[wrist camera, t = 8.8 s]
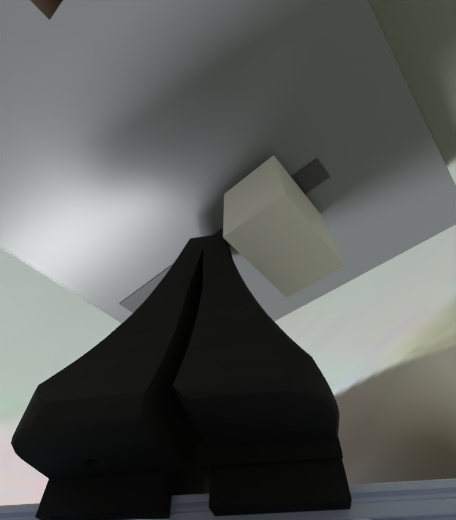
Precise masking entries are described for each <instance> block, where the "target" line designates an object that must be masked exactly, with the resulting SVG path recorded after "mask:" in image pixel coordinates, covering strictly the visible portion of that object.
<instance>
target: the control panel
mask: <svg viewBox="0 0 456 520" xmlns="http://www.w3.org/2000/svg"><path fill="white" fill-rule="evenodd" d="M273 155H274V156H275V157H276V158H277V160H278V161H279V162H280V164H281V165H282V166H283V167H284V169H285V170H286V171H287V172H288V174H289V175H290V176H291V177H292V179H293V180H294V181H295V183H296V184H297V185H298V186H299V188H300V189H301V190H302V191H303V193H304V194H305V195H306V196H307V198H308V199H309V200H310V201H311V203H312V204H313V205H314V207H315V208H316V209H317V210H318V212H319V213H320V214H321V215H322V217H323V218H324V219H325V221H326V223H327V226H328V228H329V230H330V233H331V235H332V237H333V240H334V242H335V244H336V246H337V249H338V251H339V253H340V256H341V258H342V260H343V263H344V265H345V266H343V267H341V268H339V269H337V270H336V271H334V272H332V273H330V274H329V275H327V276H325V277H323V278H321V279H320V280H318V281H316V282H314V283H312V284H311V285H309V286H307V287H305V288H303V289H302V290H300V291H298V292H296V293H295V294H293V295H291V296H289V297H287V298H286V297H285V296H284V295H283V294H282V293H281V292H280V291H279V290H278V289H277V288H276V287H275V286H274V285H273V284H272V283H271V282H270V281H268V280H267V279H266V278H265V277H264V276H263V275H262V274H261V273H260V272H259V271H258V270H257V269H256V268H255V267H254V266H253V265H252V264H251V263H249V262H248V261H247V260H246V259H245V258H244V257H243V256H242V255H241V254H240V253H239V252H238V251H237V250H236V249H235V248H234V247H233V246H232V245H230V249H231V253H232V258H233V261H234V263H235V265H236V267H237V269H238V271H239V273H240V275H241V277H242V279H243V280H244V282H245V284H246V285H247V287H248V289H249V290H250V292H251V293H252V295H253V296H254V297H255V299H256V300H257V302H258V303H259V304H260V305H261V307H262V308H263V309H264V311H265V312H266V313H267V314H268V315H269V316H270V317H271V318H272V320H273V321H276V320H278V319H279V318H281V317H283V316H285V315H287V314H289V313H291V312H292V311H294V310H296V309H298V308H300V307H302V306H304V305H306V304H307V303H309V302H311V301H313V300H315V299H317V298H319V297H321V296H322V295H324V294H326V293H328V292H330V291H332V290H334V289H336V288H337V287H339V286H341V285H343V284H345V283H347V282H349V281H350V280H352V279H354V278H356V277H358V276H360V275H362V274H364V273H365V272H367V271H369V270H371V269H373V268H375V267H377V266H379V265H380V264H382V263H384V262H386V261H388V260H390V259H392V258H394V257H395V256H397V255H399V254H401V253H403V252H405V251H407V250H408V249H410V248H412V247H414V246H416V245H418V244H420V243H422V242H423V241H425V240H427V239H429V238H431V237H433V236H435V235H437V234H438V233H440V232H442V231H444V230H446V229H448V228H450V227H452V226H453V225H455V224H456V185H455V183H454V181H453V179H452V177H451V175H450V173H449V170H448V168H447V166H446V164H445V162H444V160H443V158H442V155H441V153H440V151H439V149H438V147H437V145H436V143H435V141H434V138H433V136H432V134H431V132H430V130H429V128H428V126H427V123H426V121H425V119H424V117H423V115H422V113H421V111H420V109H419V106H418V104H417V102H416V100H415V98H414V96H413V94H412V92H411V89H410V87H409V85H408V83H407V81H406V79H405V77H404V74H403V72H402V70H401V68H400V66H399V64H398V62H397V60H396V57H395V55H394V53H393V51H392V49H391V47H390V45H389V42H388V40H387V38H386V36H385V34H384V32H383V30H382V28H381V25H380V23H379V21H378V19H377V17H376V15H375V13H374V11H373V8H372V6H371V4H370V2H369V0H0V247H1V248H2V249H4V250H6V251H7V252H9V253H10V254H12V255H14V256H15V257H17V258H18V259H20V260H22V261H23V262H25V263H26V264H28V265H30V266H31V267H33V268H34V269H36V270H38V271H39V272H41V273H42V274H44V275H46V276H47V277H49V278H50V279H52V280H54V281H55V282H57V283H58V284H60V285H62V286H63V287H65V288H66V289H68V290H70V291H71V292H73V293H74V294H76V295H78V296H79V297H81V298H82V299H84V300H86V301H87V302H89V303H90V304H92V305H94V306H95V307H97V308H98V309H100V310H102V311H103V312H105V313H106V314H108V315H109V316H111V317H113V318H114V319H116V320H117V321H119V322H121V323H123V322H124V321H125V320H126V319H127V318H129V317H130V316H131V315H132V314H133V313H134V312H135V311H136V309H137V308H138V307H139V306H140V305H141V304H142V303H143V302H144V301H145V300H146V299H147V298H148V297H149V295H150V294H151V293H152V292H153V290H154V289H155V288H156V287H157V285H158V284H159V283H160V282H161V280H162V279H163V278H164V276H165V275H166V273H167V272H168V271H169V269H170V268H171V266H172V265H173V263H174V262H175V260H176V259H177V257H178V256H179V254H180V253H181V251H182V250H183V248H184V247H185V245H186V244H187V242H188V241H189V239H190V238H196V237H203V236H209V235H216V234H223V219H224V194H225V193H226V192H227V191H229V190H230V189H231V188H233V187H234V186H235V185H236V184H238V183H239V182H240V181H241V180H243V179H244V178H245V177H246V176H248V175H249V174H250V173H252V172H253V171H254V170H255V169H257V168H258V167H259V166H260V165H262V164H263V163H264V162H266V161H267V160H268V159H269V158H271V157H272V156H273Z"/></svg>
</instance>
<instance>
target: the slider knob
mask: <svg viewBox="0 0 456 520" xmlns="http://www.w3.org/2000/svg"><path fill="white" fill-rule="evenodd" d="M223 238H224V239H225V240H226V241H227V242H228V243H229V244H230V245H232V246H233V247H234V248H235V249H236V250H237V251H238V252H239V253H240V254H241V255H242V256H243V257H244V258H245V259H246V260H247V261H248V262H249V263H251V264H252V265H253V266H254V267H255V268H256V269H257V270H258V271H259V272H260V273H261V274H262V275H263V276H264V277H265V278H266V279H267V280H268V281H270V282H271V283H272V284H273V285H274V286H275V287H276V288H277V289H278V290H279V291H280V292H281V293H282V294H283V295H284V296H285V297H286V298H287V297H289V296H291V295H293V294H295V293H296V292H298V291H300V290H302V289H303V288H305V287H307V286H309V285H311V284H312V283H314V282H316V281H318V280H320V279H321V278H323V277H325V276H327V275H329V274H330V273H332V272H334V271H336V270H337V269H339V268H341V267H343V266H345V265H344V263H343V260H342V258H341V256H340V253H339V251H338V249H337V246H336V244H335V242H334V240H333V237H332V235H331V233H330V230H329V228H328V226H327V223H326V221H325V219H324V218H323V217H322V215H321V214H320V213H319V212H318V210H317V209H316V208H315V207H314V205H313V204H312V203H311V201H310V200H309V199H308V198H307V196H306V195H305V194H304V193H303V191H302V190H301V189H300V188H299V186H298V185H297V184H296V183H295V181H294V180H293V179H292V177H291V176H290V175H289V174H288V172H287V171H286V170H285V169H284V167H283V166H282V165H281V164H280V162H279V161H278V160H277V158H276V157H275V156H274V155H273V156H272V157H271V158H269V159H268V160H267V161H266V162H264V163H263V164H262V165H260V166H259V167H258V168H257V169H255V170H254V171H253V172H252V173H250V174H249V175H248V176H246V177H245V178H244V179H243V180H241V181H240V182H239V183H238V184H236V185H235V186H234V187H233V188H231V189H230V190H229V191H227V192H226V193H225V194H224V219H223Z"/></svg>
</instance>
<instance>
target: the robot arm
mask: <svg viewBox="0 0 456 520" xmlns="http://www.w3.org/2000/svg"><path fill="white" fill-rule="evenodd" d="M338 427H339V410H338V406H337V403H336V400H335V398H334V395H333V393H332V391H331V389H330V387H329V385H328V383H327V381H326V379H325V378H324V376H323V374H322V373H321V371H320V369H319V368H318V366H317V365H316V363H315V361H314V360H313V358H312V357H311V356H310V355H309V354H308V353H306V352H305V351H304V350H303V349H302V348H301V347H299V346H298V345H297V344H296V343H295V342H294V341H293V340H292V339H291V338H290V337H289V336H288V335H287V334H286V333H285V332H284V331H283V330H282V329H280V327H279V326H278V325H277V324H276V323H275V322H274V321H273V320H272V318H271V317H270V316H269V315H268V314H267V313H266V312H265V311H264V309H263V308H262V307H261V305H260V304H259V303H258V302H257V300H256V299H255V297H254V296H253V295H252V293H251V292H250V290H249V289H248V287H247V285H246V284H245V282H244V280H243V279H242V277H241V275H240V273H239V271H238V269H237V267H236V265H235V263H234V261H233V258H232V253H231V249H230V244H229V243H228V242H227V241H226V240H225V239H224V238H223V234H216V235H209V236H203V237H196V238H190V239H189V241H188V242H187V244H186V245H185V247H184V248H183V250H182V251H181V253H180V254H179V256H178V257H177V259H176V260H175V262H174V263H173V265H172V266H171V268H170V269H169V271H168V272H167V273H166V275H165V276H164V278H163V279H162V280H161V282H160V283H159V284H158V285H157V287H156V288H155V289H154V290H153V292H152V293H151V294H150V295H149V297H148V298H147V299H146V300H145V301H144V302H143V303H142V304H141V305H140V306H139V307H138V308H137V309H136V311H135V312H134V313H133V314H132V315H131V316H130V317H129V318H127V319H126V320H125V321H124V322H123V323H122V324H121V325H120V326H119V327H117V328H116V329H115V330H114V331H113V332H112V333H111V334H110V335H109V336H107V337H106V338H105V339H104V340H102V341H101V342H100V343H99V344H97V345H96V346H95V347H94V348H92V349H91V350H90V351H88V352H87V353H86V354H84V355H83V356H82V357H80V358H79V359H77V360H76V361H75V362H73V363H72V364H70V365H69V366H67V367H66V368H64V369H63V370H61V371H60V372H58V373H57V374H55V375H54V376H52V377H51V378H49V379H48V380H46V381H44V382H43V383H41V384H40V385H38V387H37V389H36V390H35V392H34V394H33V396H32V398H31V400H30V403H29V405H28V407H27V409H26V411H25V413H24V415H23V417H22V419H21V421H20V423H19V425H18V427H17V429H16V431H15V433H14V435H13V437H12V441H11V444H12V446H13V449H14V451H15V453H16V454H17V455H18V456H19V457H20V458H21V459H22V460H24V461H25V462H26V463H28V464H29V465H31V466H32V467H33V468H35V469H36V470H38V471H39V472H40V473H42V474H43V475H45V476H46V477H47V478H49V481H48V483H47V486H46V489H45V491H44V494H43V497H42V499H41V502H40V503H39V504H23V505H6V506H0V520H456V479H440V480H425V481H424V480H423V481H407V482H390V483H374V484H357V485H348V482H347V478H346V474H345V469H344V465H343V462H342V457H343V456H342V450H341V446H340V442H339V438H338Z"/></svg>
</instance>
